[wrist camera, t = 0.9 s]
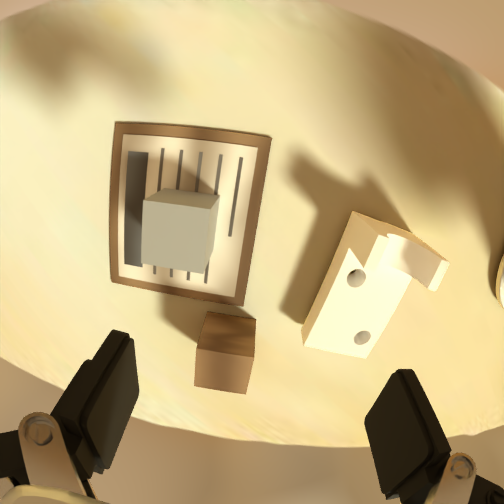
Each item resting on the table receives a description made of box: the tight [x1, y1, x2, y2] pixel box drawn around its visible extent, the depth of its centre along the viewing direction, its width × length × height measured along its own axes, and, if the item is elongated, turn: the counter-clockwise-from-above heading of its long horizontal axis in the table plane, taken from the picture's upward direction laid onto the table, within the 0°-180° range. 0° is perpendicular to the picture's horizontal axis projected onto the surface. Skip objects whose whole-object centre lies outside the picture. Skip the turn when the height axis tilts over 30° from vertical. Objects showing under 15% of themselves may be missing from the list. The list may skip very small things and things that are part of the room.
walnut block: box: [194, 312, 256, 394], centre depth 28 cm, size 5×5×6 cm
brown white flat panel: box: [110, 123, 272, 306], centre depth 26 cm, size 14×16×1 cm
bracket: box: [301, 211, 450, 358], centre depth 25 cm, size 13×7×8 cm, turn 163°
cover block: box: [141, 188, 220, 274], centre depth 24 cm, size 5×5×5 cm
